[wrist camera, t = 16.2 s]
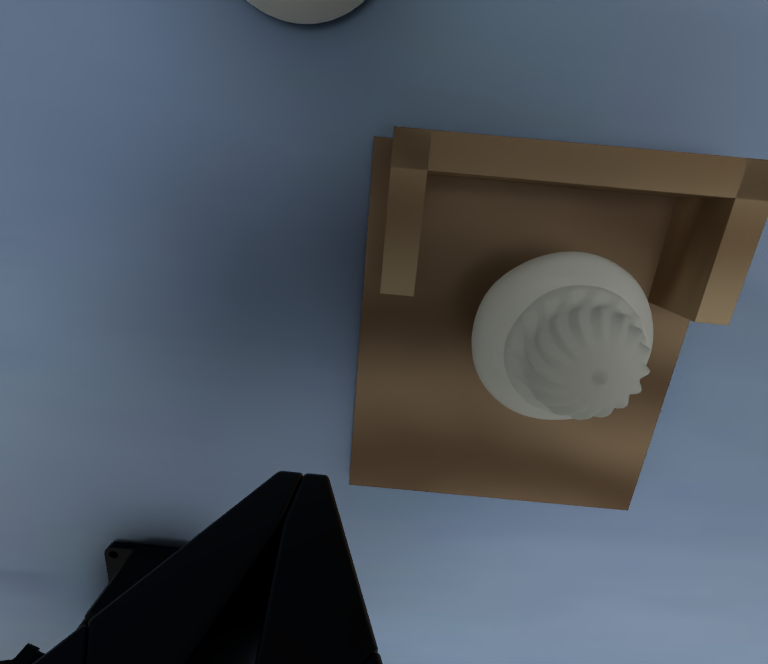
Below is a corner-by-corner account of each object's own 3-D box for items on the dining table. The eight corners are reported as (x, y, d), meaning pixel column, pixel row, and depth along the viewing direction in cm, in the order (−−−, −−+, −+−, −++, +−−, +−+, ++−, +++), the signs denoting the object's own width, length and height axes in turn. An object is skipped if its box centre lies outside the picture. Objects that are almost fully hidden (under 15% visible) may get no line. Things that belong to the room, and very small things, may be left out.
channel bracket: (619, 499, 22) (663, 559, 18) (350, 474, 22) (341, 529, 18) (724, 170, 17) (812, 164, 13) (375, 138, 17) (369, 124, 13)
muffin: (634, 295, 18) (776, 357, 11) (537, 402, 19) (610, 511, 13) (520, 209, 17) (600, 219, 10) (428, 329, 18) (446, 405, 12)
